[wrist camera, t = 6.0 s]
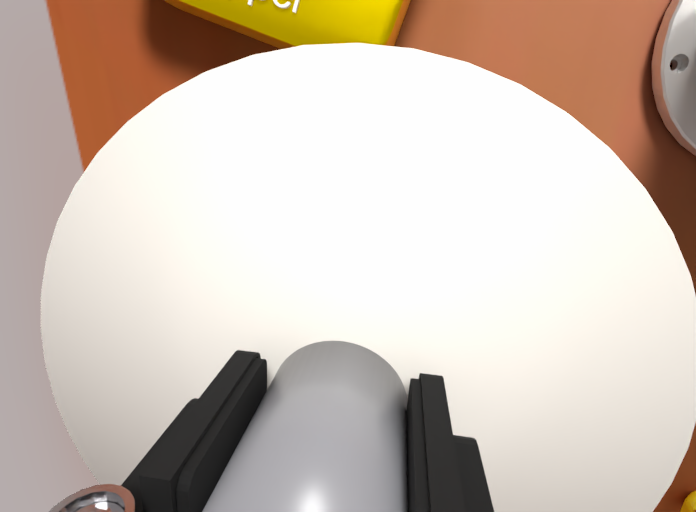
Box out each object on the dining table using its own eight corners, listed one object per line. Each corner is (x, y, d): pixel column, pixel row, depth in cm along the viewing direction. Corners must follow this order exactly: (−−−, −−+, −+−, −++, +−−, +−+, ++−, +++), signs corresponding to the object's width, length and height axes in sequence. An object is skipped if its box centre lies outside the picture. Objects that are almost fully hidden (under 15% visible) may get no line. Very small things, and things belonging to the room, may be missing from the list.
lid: (634, 624, 12) (823, 1020, 7) (135, 580, 15) (-23, 842, 9) (744, 3, 8) (1633, -343, 2) (-14, 89, 10) (-512, 34, 5)
